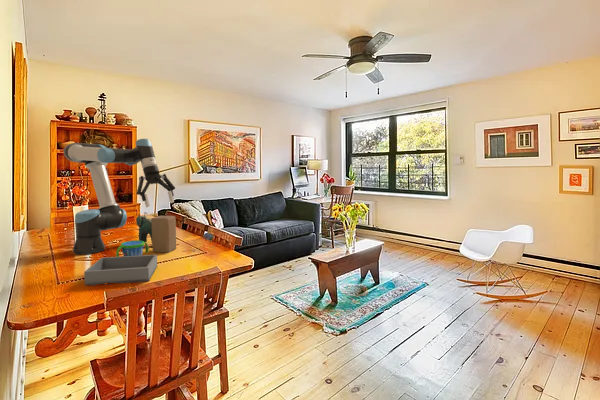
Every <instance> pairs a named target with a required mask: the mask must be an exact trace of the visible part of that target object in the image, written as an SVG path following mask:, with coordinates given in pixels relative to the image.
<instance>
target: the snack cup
mask: <svg viewBox="0 0 600 400" xmlns="http://www.w3.org/2000/svg"><path fill="white" fill-rule="evenodd" d="M144 246H145V253H146V254H148V253H149V251H150V249H149V244H148V243H147V242H144V241H139V239H138V240H128V241H123V242H122V243H120V245H119V246H118V247H117V249H116V253H115V257H120V254H119V253H120V250H121V251H122V254H123V255H122V256H142V255H143V251H144Z"/></svg>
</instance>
